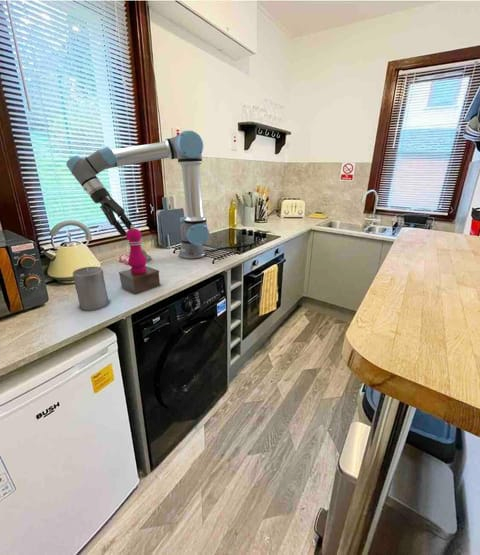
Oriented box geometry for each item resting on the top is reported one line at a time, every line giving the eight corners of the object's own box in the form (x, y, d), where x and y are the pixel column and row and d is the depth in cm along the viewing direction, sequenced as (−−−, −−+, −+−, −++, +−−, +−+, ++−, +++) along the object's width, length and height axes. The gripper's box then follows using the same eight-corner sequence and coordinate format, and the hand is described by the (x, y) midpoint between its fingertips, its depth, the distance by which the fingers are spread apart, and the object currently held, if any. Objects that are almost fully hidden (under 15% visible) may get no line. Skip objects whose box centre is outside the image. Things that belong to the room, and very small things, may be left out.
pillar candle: (87, 299, 108) (79, 263, 102) (112, 298, 108) (106, 262, 103) (75, 311, 99) (65, 272, 93) (102, 310, 99) (95, 271, 94)
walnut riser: (146, 279, 128) (144, 265, 125) (160, 285, 121) (159, 270, 119) (121, 287, 119) (118, 272, 116) (135, 294, 112) (133, 278, 110)
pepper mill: (126, 273, 115) (118, 226, 108) (137, 267, 122) (131, 222, 114) (140, 275, 113) (133, 227, 106) (151, 269, 119) (145, 224, 112)
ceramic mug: (135, 263, 148) (134, 250, 145) (129, 260, 154) (127, 247, 151) (153, 260, 155) (152, 247, 152) (147, 257, 161) (146, 244, 158)
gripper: (86, 204, 129) (115, 241, 135) (92, 184, 109) (127, 229, 114) (100, 197, 133) (128, 233, 139) (109, 176, 112) (141, 221, 118)
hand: (128, 232), depth 127 cm, fingers open, 13 cm apart
